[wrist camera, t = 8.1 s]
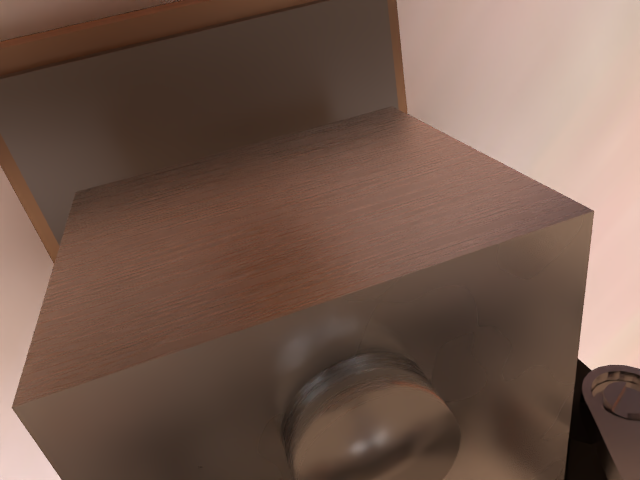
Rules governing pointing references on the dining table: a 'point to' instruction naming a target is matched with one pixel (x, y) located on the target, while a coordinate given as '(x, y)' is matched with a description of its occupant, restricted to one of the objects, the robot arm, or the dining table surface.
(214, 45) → the stand
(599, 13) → the dining table surface
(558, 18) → the dining table surface
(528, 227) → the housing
